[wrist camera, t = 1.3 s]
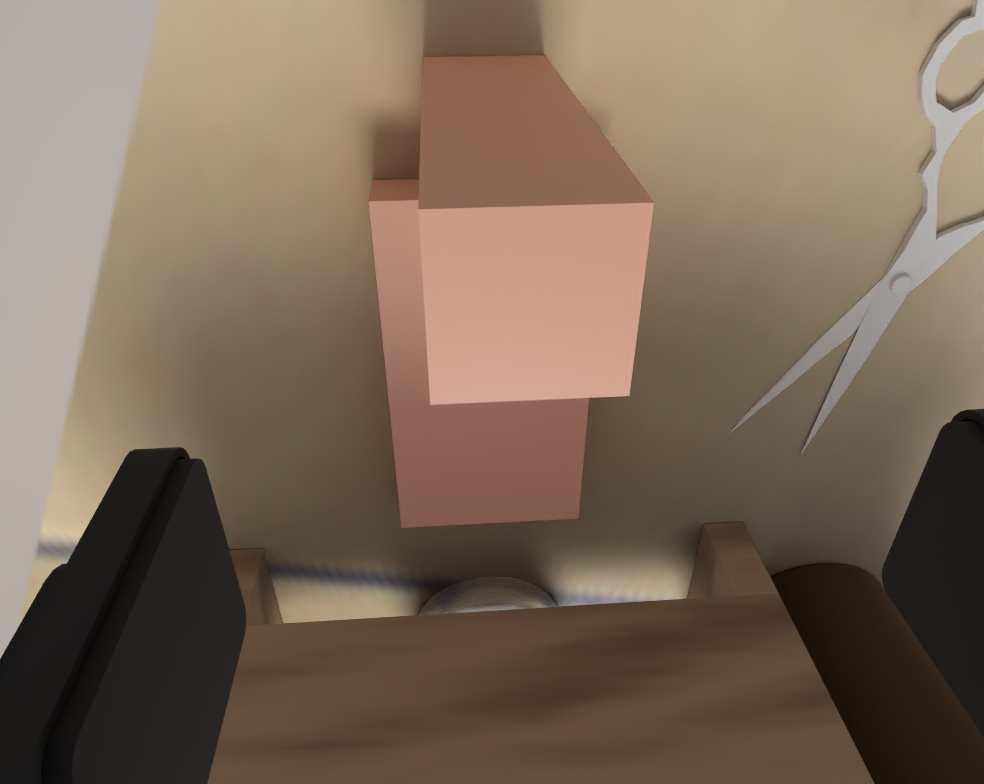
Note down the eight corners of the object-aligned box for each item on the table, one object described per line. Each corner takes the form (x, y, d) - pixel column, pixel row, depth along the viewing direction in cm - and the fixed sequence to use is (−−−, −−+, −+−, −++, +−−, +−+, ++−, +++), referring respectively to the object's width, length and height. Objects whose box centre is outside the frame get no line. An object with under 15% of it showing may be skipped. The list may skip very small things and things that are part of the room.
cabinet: (221, 550, 35) (92, 962, 22) (742, 521, 37) (927, 889, 23) (252, 652, 40) (161, 1047, 26) (715, 623, 41) (857, 981, 28)
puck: (411, 578, 38) (410, 626, 35) (563, 570, 38) (573, 617, 36) (419, 670, 42) (419, 719, 40) (555, 662, 43) (563, 709, 40)
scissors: (1214, 74, 26) (854, 481, 35) (1195, 70, 26) (846, 471, 36) (997, -65, 23) (669, 421, 32) (981, -66, 23) (664, 411, 33)
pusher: (360, 57, 24) (296, 212, 12) (604, 54, 24) (768, 199, 12) (402, 494, 34) (390, 798, 23) (570, 486, 35) (641, 779, 23)
